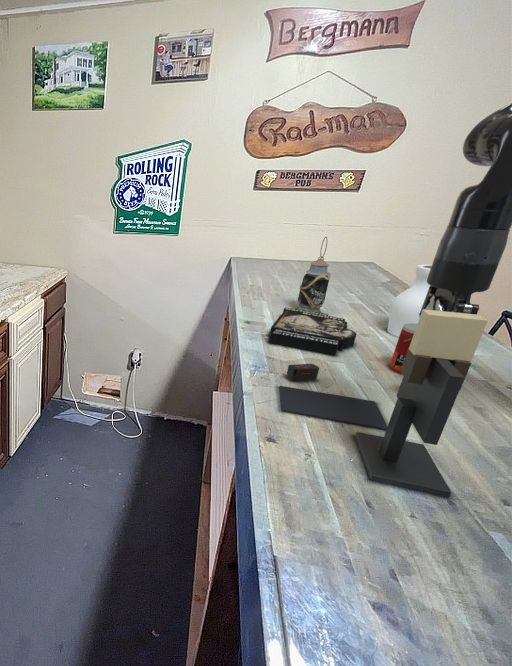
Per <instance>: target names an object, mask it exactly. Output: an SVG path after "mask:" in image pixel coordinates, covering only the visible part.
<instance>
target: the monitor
mask: <svg viewBox="0 0 512 666" xmlns="http://www.w3.org/2000/svg"><path fill="white" fill-rule="evenodd" d="M431 358H432V357H431ZM464 378H465V377H464V376H463V375H462V374H461V373H460V372H459V371H458V370H457V369H456V368H455V367H454V365H453V364H452V363H451V362H450V361H449V360H448V359H440V358H432V359H431V362H430V365H429V367H428V370H427V373H426V375H425V378H424V381H423V383H422V384H415V383H408V382H407V380H406V379H405V377H404V376H403V375H402V379H401V382H400V385H399V387H398V391H397V392H396V398H397V399H396V401H395V403H394V407H393V409H392V413H391V416H390V418H389V421H388V424H387V430H386V431H385V432H384V435H383V436H380V435H375V434H371V433H364V432H360V431H356V432H355V436H354V439H355V441H356V443H357V447H358V449H359V453H360V455H361V459H362V461H363V465H364V467H365V470H366V472H367V475H368V478H369V481H370V482H374V483H377V484H383V485H387V486H392V487H397V488H401V489H406V490H411V491H415V492H419V493H424V494H428V495H433V496H437V497H442V498H446V499H450V496H451V494H452V490H451V489H450V487H449V485H448V483H447V482H446V481H445V478H444V477H443V475H442V474H441V472H440V470H439V468H438V466H437V465H436V463H435V462H434V460H433V458H432V456H431V455H430V453H429V451H428V449H427V448H426V446H425V444H427V445H434V446H438V443H439V442H440V439H441V437H442V433H443V431H444V429H445V426H446V424H447V421H448V419H449V416H450V415H451V412H452V409H453V407H454V405H455V402H456V400H457V397H458V395H459V393H460V391H461V390H460V388H461V389H462V387H461V385H462V383H463V384H464V382H465V380H464ZM465 379H466V378H465ZM463 381H464V382H463ZM462 386H463V385H462ZM412 426H413V428H414V429H415V430H416V432H417V433H418V436H419V437H420V439H421V441H422V443H417V442H412V441H407V437H408V435H409V432H410V430H411V427H412Z"/></svg>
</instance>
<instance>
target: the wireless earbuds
mask: <svg viewBox="0 0 512 666" xmlns="http://www.w3.org/2000/svg"><path fill="white" fill-rule="evenodd" d="M319 371H320V367H319V366H317V365H316V364H314V363H299V364H298V363H296V364H295V363H294V364H288V367H287V371H286V375H285V376H286V378H287V379H288V380H289V381H291V382H305V381H306V382H307V381H308V382H309V381H316V380H317V379H318V375H319V373H320V372H319Z"/></svg>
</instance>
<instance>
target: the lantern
mask: <svg viewBox="0 0 512 666" xmlns="http://www.w3.org/2000/svg"><path fill="white" fill-rule="evenodd" d="M325 239H326V240H328V237H327V236H324V238H323V239H322V242H321V246H320V250H319V251H320V252H319V255H320V256H319V257H318V258H317V259H316V260H314V261H311V262H310V266H309V269H308V270H305V274H304V275H303V277H302V282H301V284H300V286H299V293H298V296H297V302H298V306H297V309H298V310H305V311H311V312H317V313H321V308H323V305H324V304H325V301H326V296H327V291H328V287H329V284H330V283H329V282H330V279H331V276H332V275H331V272H328V267H329V266H330V264H328V263H327V262H326V261H325V257H324V256H325V254H326V251H327V247H328V241H325ZM324 241H325V242H326V243H325V248H324V252H323V255H322V249H323V244H324Z"/></svg>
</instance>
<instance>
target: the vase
mask: <svg viewBox="0 0 512 666" xmlns="http://www.w3.org/2000/svg"><path fill="white" fill-rule="evenodd" d="M431 266H432V264H418V265H416V267H415V280H414V282H413V284H412V285H410V286H409V287H408V288H407V289H405V290H404V291H402V292H401V293H399V294H397V295H396V296H395V297H394V298H393V299H392V301H391V303H390V304H389V309H388V325H387V329H386V331H387V332H388V333H389V334H391V335H392V336H395V337H398V338H399V336H400V333H401V330H402V328H403V325H405V324H410V323H415V324H418V321H419V318H420V317H419V313H420V311H421V309H422V306H423V303H424V300H425V298H426V295H427V292H428V290H429V287H430V285H429V284H428V283H427V278H428V275H429V272H430V269H431Z"/></svg>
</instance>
